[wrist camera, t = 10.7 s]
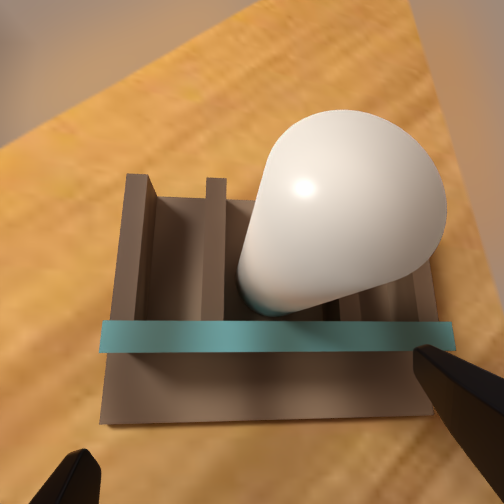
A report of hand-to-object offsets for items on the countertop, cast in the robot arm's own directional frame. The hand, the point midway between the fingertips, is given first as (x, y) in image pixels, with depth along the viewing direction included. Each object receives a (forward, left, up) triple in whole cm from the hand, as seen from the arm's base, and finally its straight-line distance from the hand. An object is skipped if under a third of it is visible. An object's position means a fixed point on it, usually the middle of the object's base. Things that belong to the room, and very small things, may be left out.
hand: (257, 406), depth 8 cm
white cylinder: (+3, -5, -11) cm, 13 cm away
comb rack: (+2, -4, -12) cm, 13 cm away
